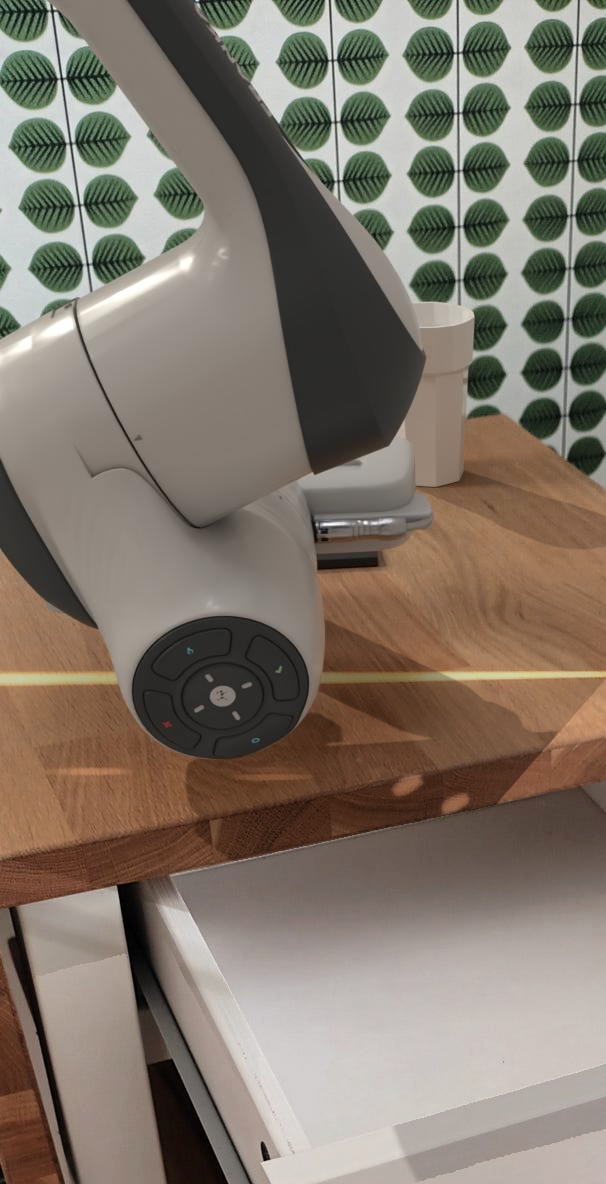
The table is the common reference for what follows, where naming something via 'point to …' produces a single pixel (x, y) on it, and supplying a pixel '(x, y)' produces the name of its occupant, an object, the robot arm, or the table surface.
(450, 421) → the cup
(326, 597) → the table surface
